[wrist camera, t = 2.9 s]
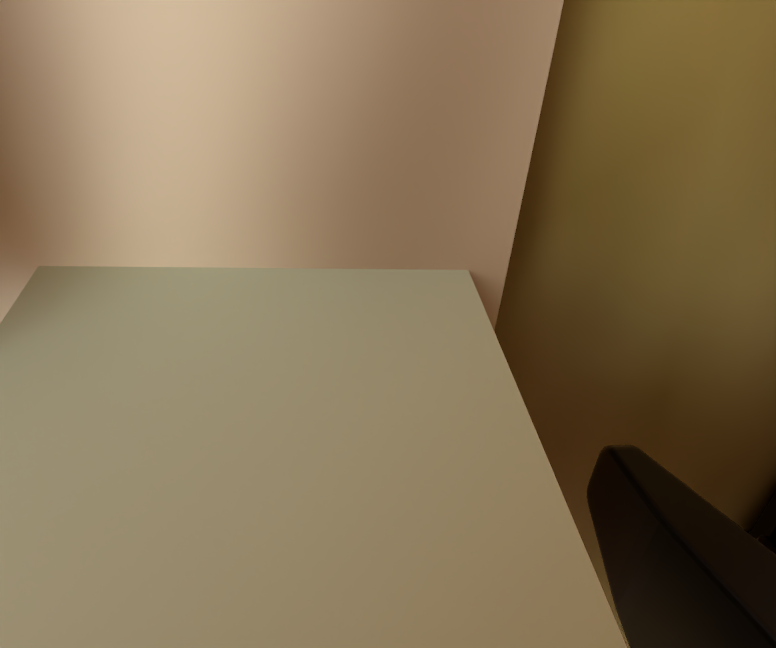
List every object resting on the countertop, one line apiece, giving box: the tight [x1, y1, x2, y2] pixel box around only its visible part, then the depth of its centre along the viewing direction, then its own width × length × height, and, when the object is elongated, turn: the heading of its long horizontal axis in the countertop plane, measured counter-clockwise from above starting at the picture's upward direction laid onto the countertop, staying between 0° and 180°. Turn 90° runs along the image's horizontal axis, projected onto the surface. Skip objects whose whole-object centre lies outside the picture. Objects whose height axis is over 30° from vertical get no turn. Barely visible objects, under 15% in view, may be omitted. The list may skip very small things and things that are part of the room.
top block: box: [0, 266, 627, 648], centre depth 7 cm, size 5×5×6 cm
